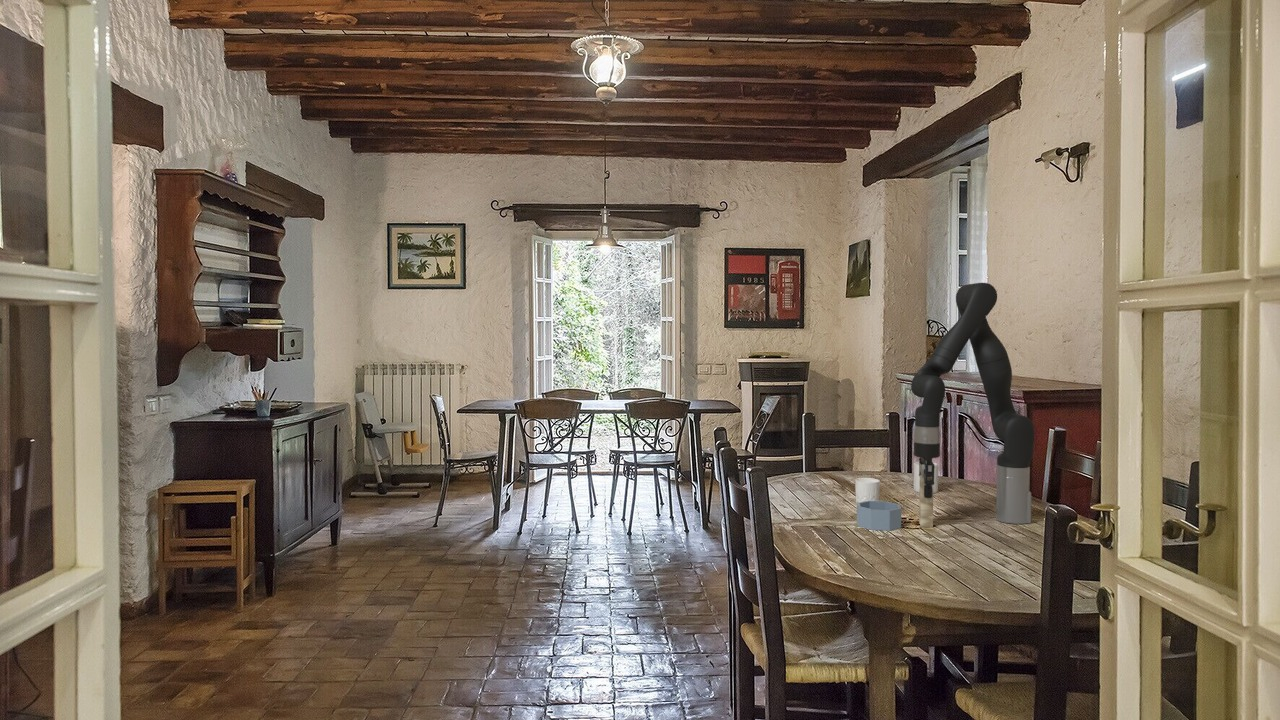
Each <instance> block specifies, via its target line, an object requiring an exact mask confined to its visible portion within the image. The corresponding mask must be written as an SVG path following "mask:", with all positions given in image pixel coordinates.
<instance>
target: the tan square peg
mask: <svg viewBox="0 0 1280 720" xmlns="http://www.w3.org/2000/svg"><path fill="white" fill-rule="evenodd" d="M927 480H929V481H931V480H930V479H929V478H927ZM918 494H919V497H918V498H919V499H918V500H919V502H918V504H919V505H918V507H919V508H918V510H919V511H918V524H920V525H919V526H920V527H921V528H934V527H933V526H934V494H933V486H932V498H925V497H924V479H923V478H922V475H920V491H919V493H918Z"/></svg>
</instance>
